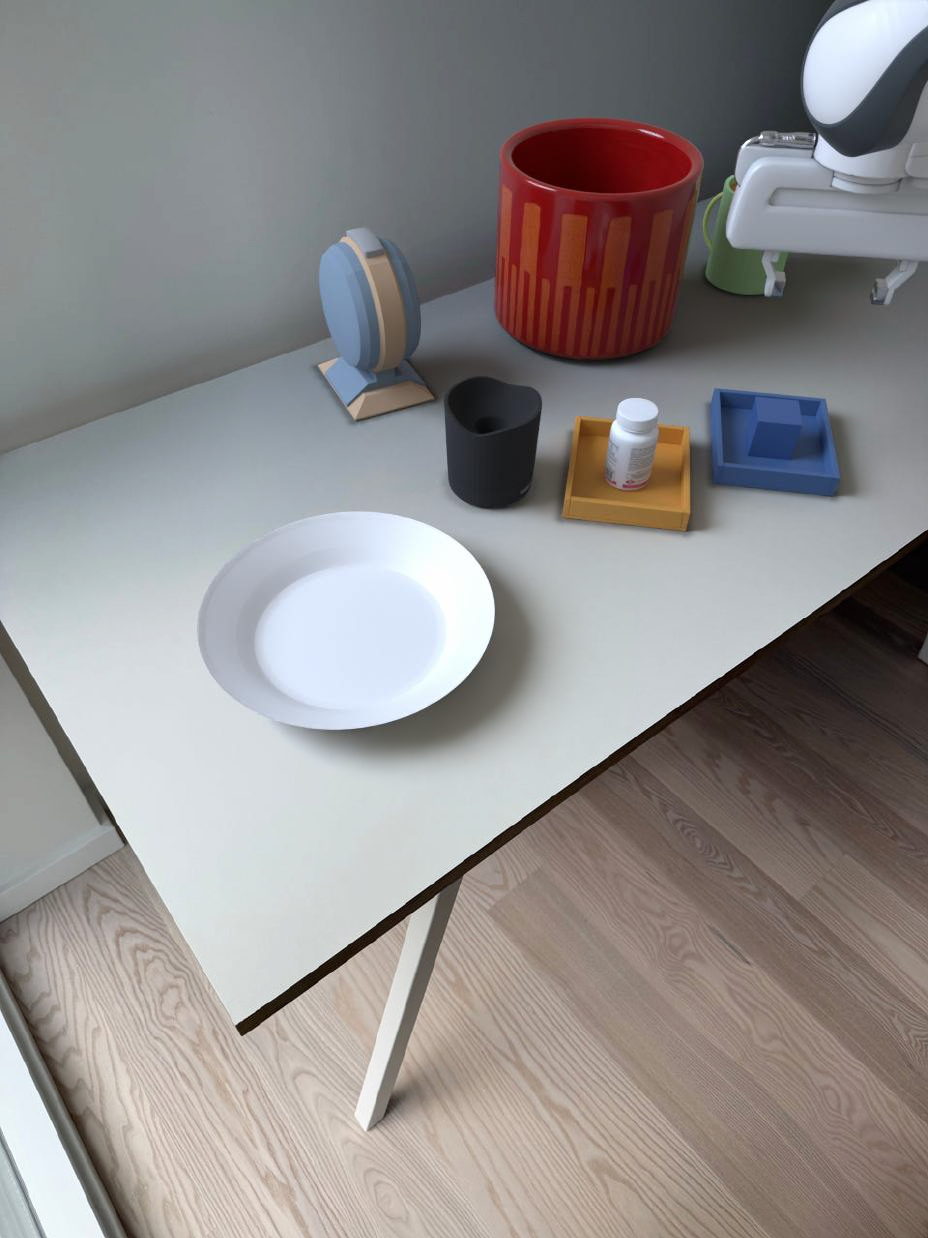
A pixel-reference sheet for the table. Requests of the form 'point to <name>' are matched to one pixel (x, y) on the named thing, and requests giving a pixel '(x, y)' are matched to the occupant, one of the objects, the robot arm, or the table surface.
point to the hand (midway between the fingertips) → (825, 298)
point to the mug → (734, 253)
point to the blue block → (773, 428)
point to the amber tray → (602, 502)
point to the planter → (593, 235)
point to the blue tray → (802, 474)
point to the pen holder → (491, 440)
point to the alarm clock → (371, 324)
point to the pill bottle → (632, 444)
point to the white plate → (345, 620)
